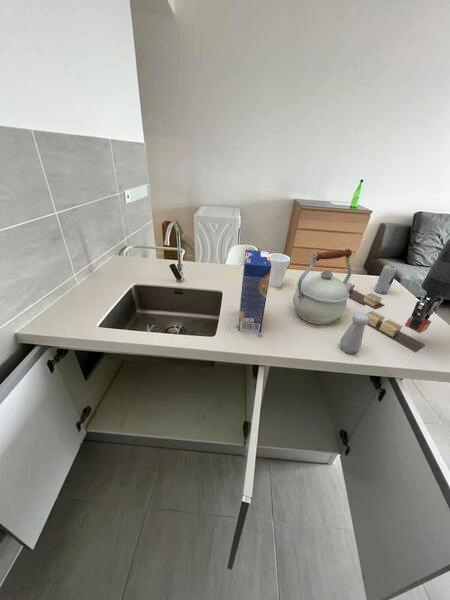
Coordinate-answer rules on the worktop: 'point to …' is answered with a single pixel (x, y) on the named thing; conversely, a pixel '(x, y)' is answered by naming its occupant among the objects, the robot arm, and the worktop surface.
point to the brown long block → (365, 298)
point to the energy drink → (385, 279)
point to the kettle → (322, 291)
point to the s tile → (422, 327)
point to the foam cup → (278, 269)
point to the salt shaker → (354, 333)
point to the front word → (393, 331)
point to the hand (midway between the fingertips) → (416, 325)
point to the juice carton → (254, 290)
